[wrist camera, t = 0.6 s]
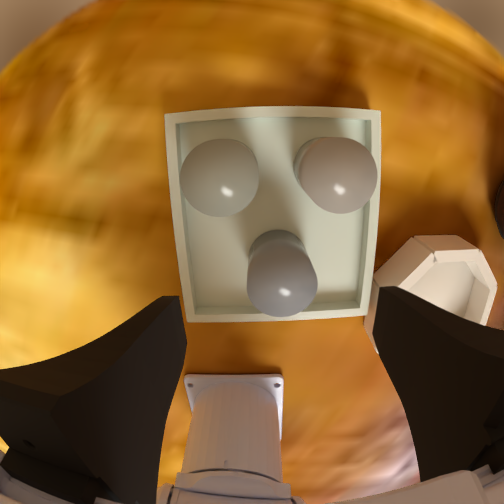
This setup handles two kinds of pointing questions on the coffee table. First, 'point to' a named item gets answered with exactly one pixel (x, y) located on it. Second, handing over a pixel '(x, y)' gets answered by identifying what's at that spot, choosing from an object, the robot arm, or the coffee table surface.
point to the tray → (272, 212)
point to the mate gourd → (500, 209)
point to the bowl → (438, 277)
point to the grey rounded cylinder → (280, 274)
